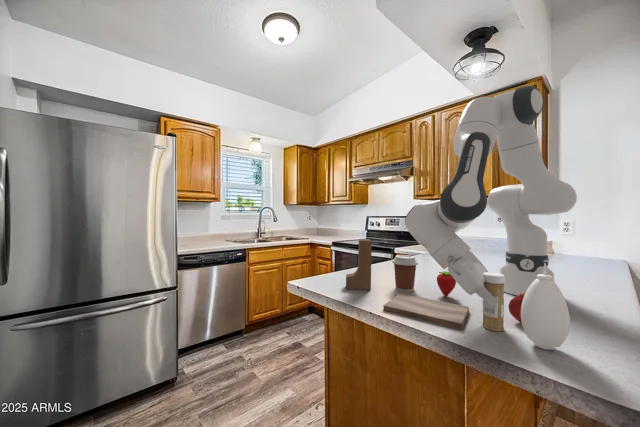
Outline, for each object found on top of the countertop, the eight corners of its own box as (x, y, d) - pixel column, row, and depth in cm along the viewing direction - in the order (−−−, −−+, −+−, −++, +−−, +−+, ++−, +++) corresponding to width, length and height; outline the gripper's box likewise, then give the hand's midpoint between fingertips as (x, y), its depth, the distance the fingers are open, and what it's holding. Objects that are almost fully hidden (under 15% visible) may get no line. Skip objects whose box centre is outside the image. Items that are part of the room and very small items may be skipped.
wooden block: (345, 289, 94) (346, 240, 94) (346, 285, 99) (346, 238, 99) (370, 290, 94) (371, 240, 93) (369, 286, 98) (370, 239, 98)
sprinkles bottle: (508, 331, 63) (509, 275, 62) (493, 333, 61) (494, 276, 61) (492, 323, 67) (493, 271, 67) (477, 324, 66) (478, 271, 66)
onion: (542, 329, 64) (542, 296, 64) (515, 327, 65) (516, 295, 65) (528, 319, 69) (528, 289, 69) (504, 317, 71) (504, 288, 70)
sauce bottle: (522, 350, 54) (524, 263, 54) (518, 335, 61) (519, 258, 60) (574, 362, 50) (576, 268, 50) (563, 344, 56) (564, 262, 56)
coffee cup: (422, 289, 95) (423, 257, 95) (408, 294, 90) (408, 259, 90) (401, 283, 102) (402, 253, 102) (386, 287, 97) (387, 255, 97)
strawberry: (452, 293, 91) (453, 265, 91) (458, 301, 83) (459, 270, 83) (434, 292, 92) (435, 264, 92) (438, 299, 85) (439, 268, 85)
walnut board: (399, 297, 86) (399, 293, 86) (468, 312, 74) (469, 306, 74) (383, 310, 75) (383, 305, 75) (461, 329, 63) (461, 323, 63)
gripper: (455, 251, 60) (506, 303, 54) (467, 243, 76) (507, 282, 71) (434, 268, 62) (481, 318, 57) (450, 256, 79) (487, 295, 73)
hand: (495, 298), depth 64 cm, fingers open, 8 cm apart
